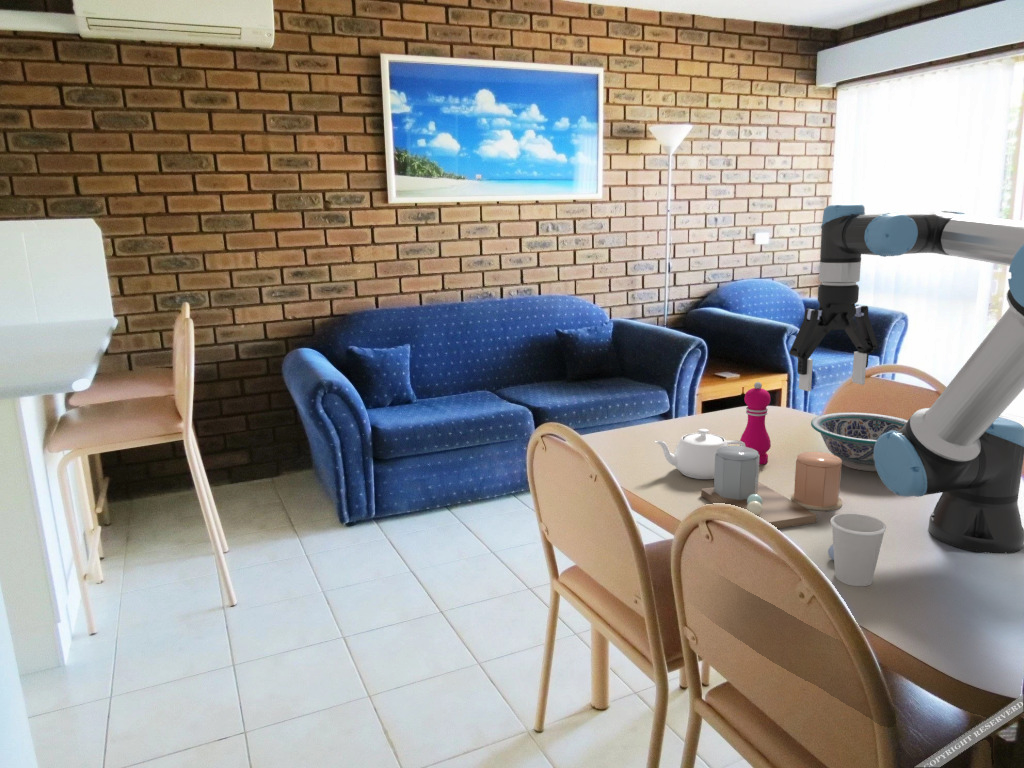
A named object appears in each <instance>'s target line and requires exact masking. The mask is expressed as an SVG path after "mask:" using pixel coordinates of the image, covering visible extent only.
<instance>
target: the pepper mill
mask: <svg viewBox="0 0 1024 768" xmlns="http://www.w3.org/2000/svg"><path fill="white" fill-rule="evenodd" d="M762 386H763V385H762V382H759V381H757V382H754V385H753V387H754V388H750V389H748V390H747V391H746V393H745V394H744V398H743V399H744V403H745V404H746V406H747V407H745V409H746V411H745V413H746V414H747V424H746V427H745V429H744V430H743V433H742V434H741V437H740V440H739V441H742V442H744V443H745V445H746V447H748V448H752V449H754V450H756V451H758V454H759V455H760V457H759V466H761V465H766V464H767V463H768V462H769V454H768V453H767V452H768V451H770V449H771V447H772V445H771V444H772V443H771V438H770V435H769V433H768V431H767V427H766V416H767V415H768V413H769V412H768V408H767V407H768V406H769V405H770V403H771V401H772V400H771V394H770V393H769V391H767V390H766V389H764V388H762ZM739 446H741V445H740V444H739Z"/></svg>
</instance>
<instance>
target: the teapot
mask: <svg viewBox="0 0 1024 768" xmlns="http://www.w3.org/2000/svg"><path fill="white" fill-rule="evenodd" d="M709 432H710V431H709V429H707V428H699V429H698V430H697V432H692V433H687V434H685V435H682V436H681V438H680V439H679V441H678V442H677V445H676V447H675V450H674V452H673V453H672V452H671V451H670V449H669V446H668V444H667V443H666V442H665V441H663V440H654V443H656V444H658V445H659V446H660V447H661V448H662V451H663V455H664V457H665V459H666V461H667V463H669V465H672V466H674V467H675V468H676V469H677V470H678V471H679V472H680V473H681V474H682V475H684V476H686V477H687V478H692V479H697V480H714V474H715V454H716V453H717V449H718V448H721V447H725V446H729V445H739V446H740V445H741V446H743V447H746V445H745V443H744V442H742V441H740V440H735V439H734V440H733V439H732V440H731V439H729V440H726V439H725V437H724V436H721V435H719V434H715V433H711V432H710V433H709Z"/></svg>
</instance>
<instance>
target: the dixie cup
mask: <svg viewBox="0 0 1024 768" xmlns="http://www.w3.org/2000/svg"><path fill="white" fill-rule="evenodd" d="M829 522H830V523H831V529H832V545H833V548H834V560H833V564H834V576H835V578H836V579H837V580H838V581H839V582H841V583H843V584H845V585H849V586H853V587H867V586H870V585H871V584H873V580H874V575H875V572H876V567H877V565H878V559H879V555H880V551H881V547H882V543H883V540H884V539H883V538H884V534H885V532H886V531H887V525H886V524H885V523H884V522H883V521H882V520H880V519H878V518H876V517H874V516H870V515H867V514H863V513H856V512H855V513H854V512H842V513H837V514H835V515H833V516H832V517H831V518H830V521H829Z"/></svg>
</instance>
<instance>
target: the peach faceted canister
mask: <svg viewBox="0 0 1024 768" xmlns="http://www.w3.org/2000/svg"><path fill="white" fill-rule="evenodd" d="M842 465H843V464H842V461H841V459H840V458H839V457H837V456H835V455H833V454H832V453H828V452H822V451H806V452H801V453H799V454H797V457H796V460H795V473H794V489H793V490H794V491H793V493H794V499H796V500H798V501H799V502H801V503H803V504H806V505H812V506H819V507H827V506H833V505H837V504H838V501H839V498H840V492H841V491H840V489H841V480H842V479H841V477H842V467H843V466H842Z"/></svg>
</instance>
